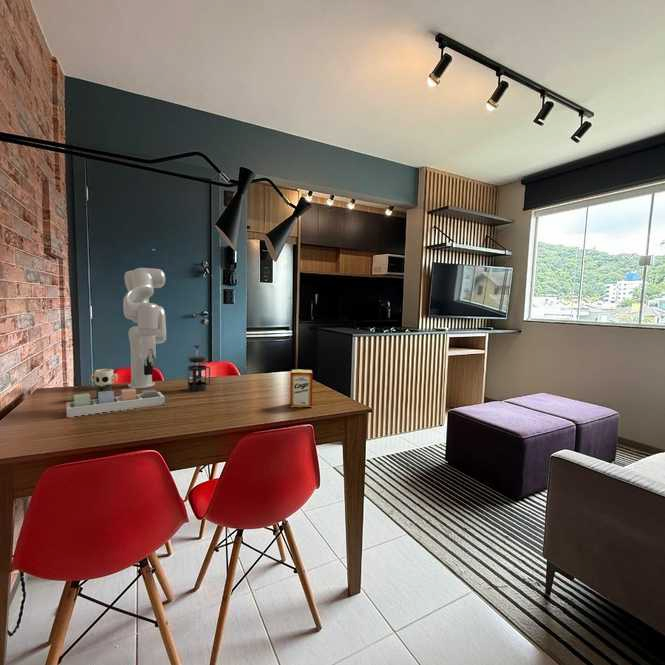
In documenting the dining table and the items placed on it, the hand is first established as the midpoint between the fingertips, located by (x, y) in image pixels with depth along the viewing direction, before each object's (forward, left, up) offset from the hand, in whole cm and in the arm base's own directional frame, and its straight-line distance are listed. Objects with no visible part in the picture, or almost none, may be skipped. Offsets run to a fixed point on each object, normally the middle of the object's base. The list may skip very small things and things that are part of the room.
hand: (148, 374), depth 153 cm
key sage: (0, -24, -10) cm, 26 cm away
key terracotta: (0, -8, -10) cm, 13 cm away
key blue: (0, -16, -10) cm, 19 cm away
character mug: (-19, -15, -13) cm, 27 cm away
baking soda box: (+38, +54, -13) cm, 68 cm away
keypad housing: (0, -12, -13) cm, 17 cm away
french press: (-14, +25, -13) cm, 32 cm away
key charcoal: (0, 0, -11) cm, 11 cm away
